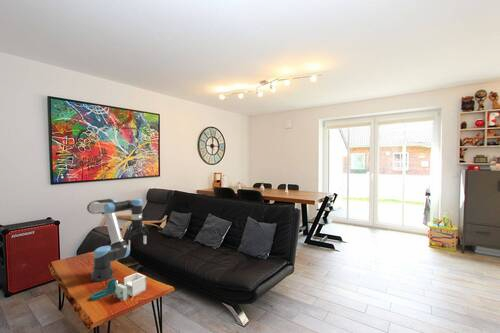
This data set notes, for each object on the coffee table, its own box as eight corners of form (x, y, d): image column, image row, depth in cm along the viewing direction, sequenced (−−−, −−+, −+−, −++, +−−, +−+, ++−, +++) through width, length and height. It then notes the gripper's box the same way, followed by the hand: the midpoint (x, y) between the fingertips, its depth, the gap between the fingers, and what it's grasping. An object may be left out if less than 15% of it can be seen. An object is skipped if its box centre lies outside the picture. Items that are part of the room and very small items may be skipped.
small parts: (112, 296, 167) (112, 281, 167) (119, 292, 171) (119, 278, 171) (121, 301, 161) (121, 286, 161) (128, 297, 165) (128, 283, 165)
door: (114, 297, 166) (114, 285, 166) (119, 294, 169) (119, 283, 169) (122, 301, 161) (121, 289, 161) (127, 298, 164) (127, 287, 164)
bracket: (116, 287, 179) (116, 277, 179) (121, 290, 175) (121, 279, 175) (89, 298, 165) (88, 286, 165) (93, 301, 161) (92, 290, 161)
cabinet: (124, 291, 173) (123, 277, 173) (137, 285, 181) (137, 272, 181) (133, 296, 167) (132, 282, 167) (146, 290, 175) (146, 276, 175)
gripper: (123, 222, 176) (123, 252, 177) (153, 216, 197) (154, 242, 198) (118, 221, 180) (118, 250, 181) (148, 215, 201) (148, 241, 202)
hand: (136, 246), depth 189 cm, fingers open, 13 cm apart
